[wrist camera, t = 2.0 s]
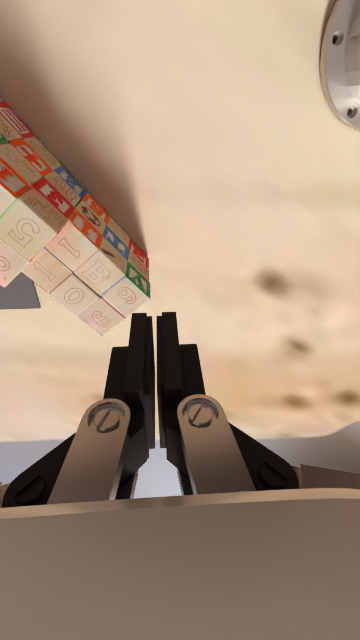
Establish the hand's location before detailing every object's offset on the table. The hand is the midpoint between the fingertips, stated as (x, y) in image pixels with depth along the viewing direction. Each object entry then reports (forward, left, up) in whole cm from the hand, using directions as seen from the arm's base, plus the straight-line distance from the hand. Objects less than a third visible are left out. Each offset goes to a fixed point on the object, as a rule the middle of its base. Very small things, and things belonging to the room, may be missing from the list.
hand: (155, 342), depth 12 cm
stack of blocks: (+10, 0, -23) cm, 25 cm away
